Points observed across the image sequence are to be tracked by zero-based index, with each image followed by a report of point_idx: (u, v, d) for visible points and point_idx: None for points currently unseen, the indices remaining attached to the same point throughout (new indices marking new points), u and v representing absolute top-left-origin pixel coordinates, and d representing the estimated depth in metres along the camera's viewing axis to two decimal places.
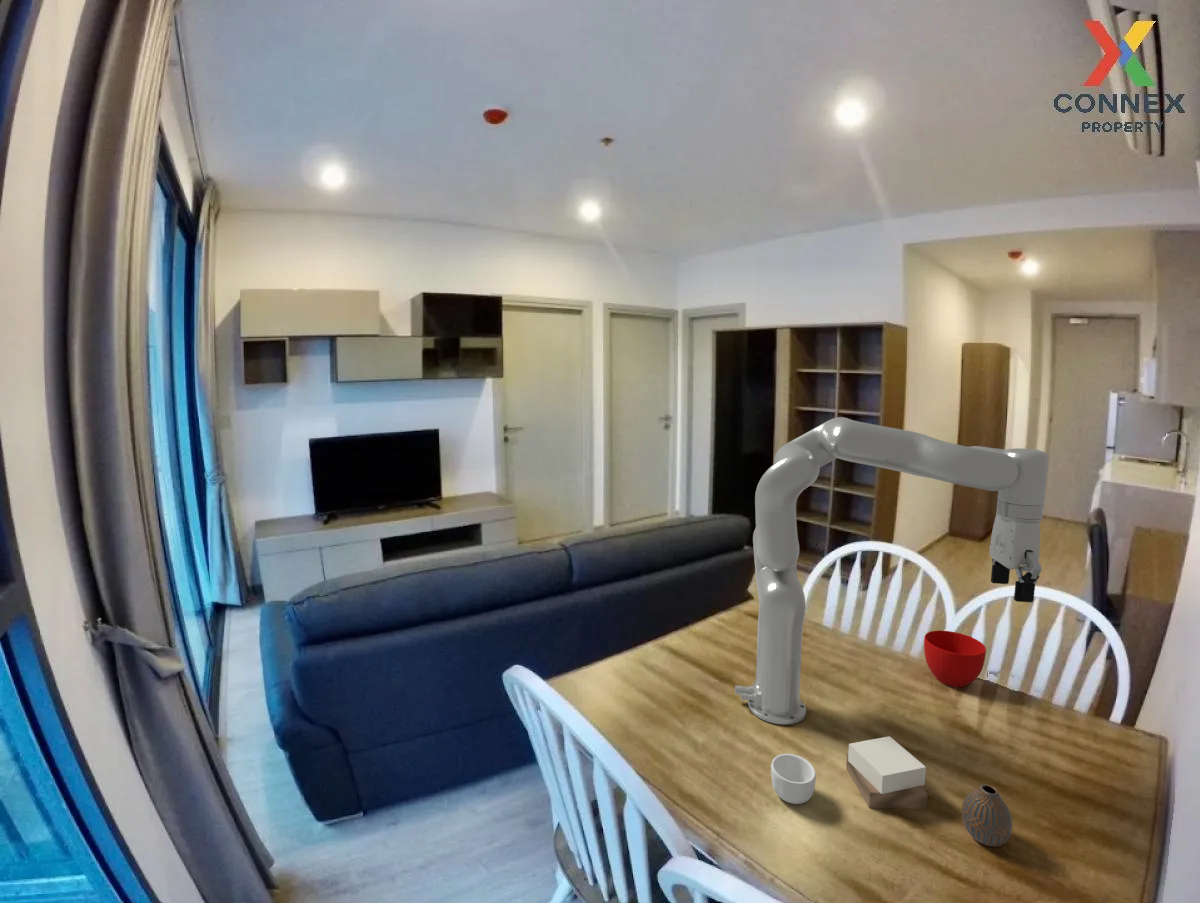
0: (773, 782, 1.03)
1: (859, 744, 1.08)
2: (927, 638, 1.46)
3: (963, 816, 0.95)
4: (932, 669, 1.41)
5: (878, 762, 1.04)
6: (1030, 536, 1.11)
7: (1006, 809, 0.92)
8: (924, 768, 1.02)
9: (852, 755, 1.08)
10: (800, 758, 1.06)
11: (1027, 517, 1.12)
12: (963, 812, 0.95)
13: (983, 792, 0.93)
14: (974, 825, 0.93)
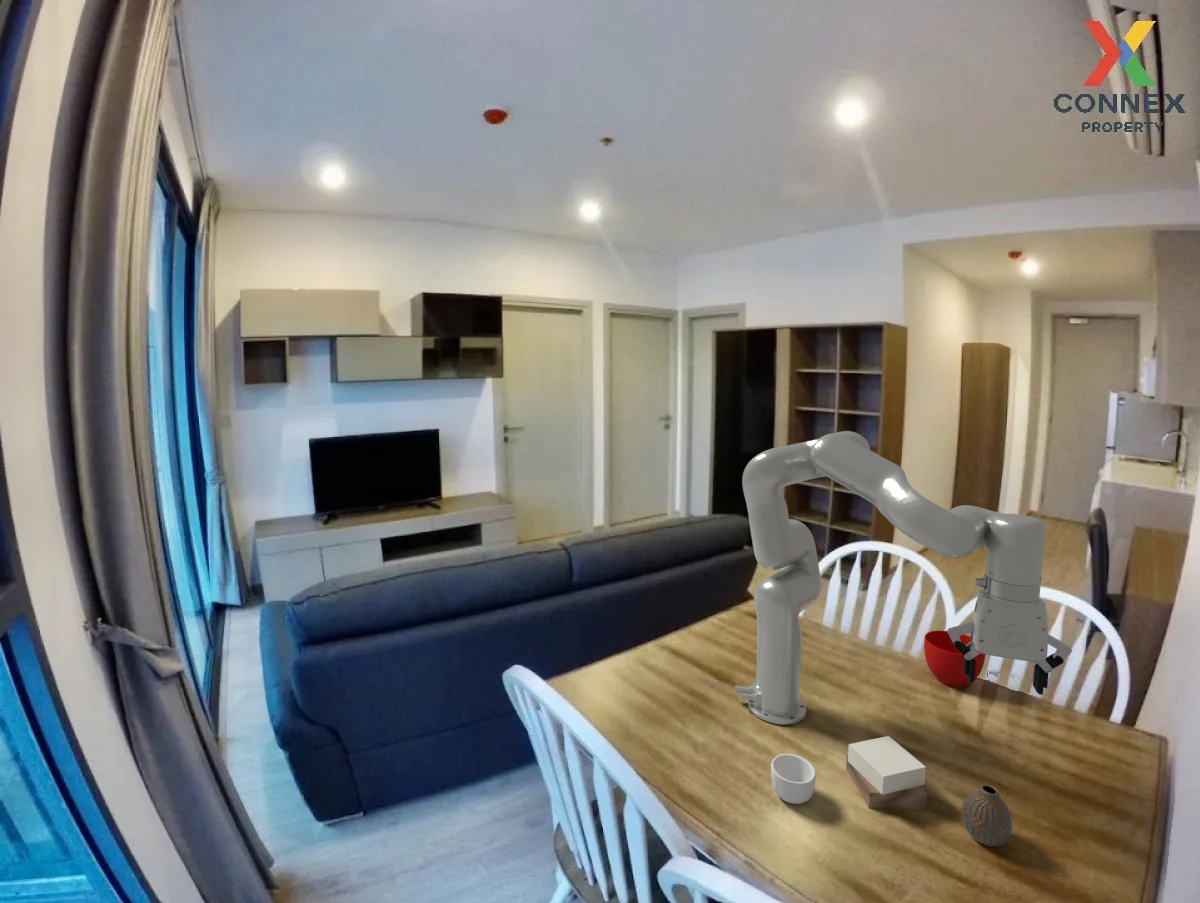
0: (773, 782, 1.03)
1: (859, 744, 1.08)
2: (927, 638, 1.46)
3: (963, 816, 0.95)
4: (932, 669, 1.41)
5: (878, 762, 1.03)
6: None
7: (1006, 809, 0.92)
8: (924, 768, 1.02)
9: (852, 755, 1.08)
10: (800, 758, 1.06)
11: None
12: (963, 812, 0.95)
13: (984, 792, 0.93)
14: (974, 825, 0.93)
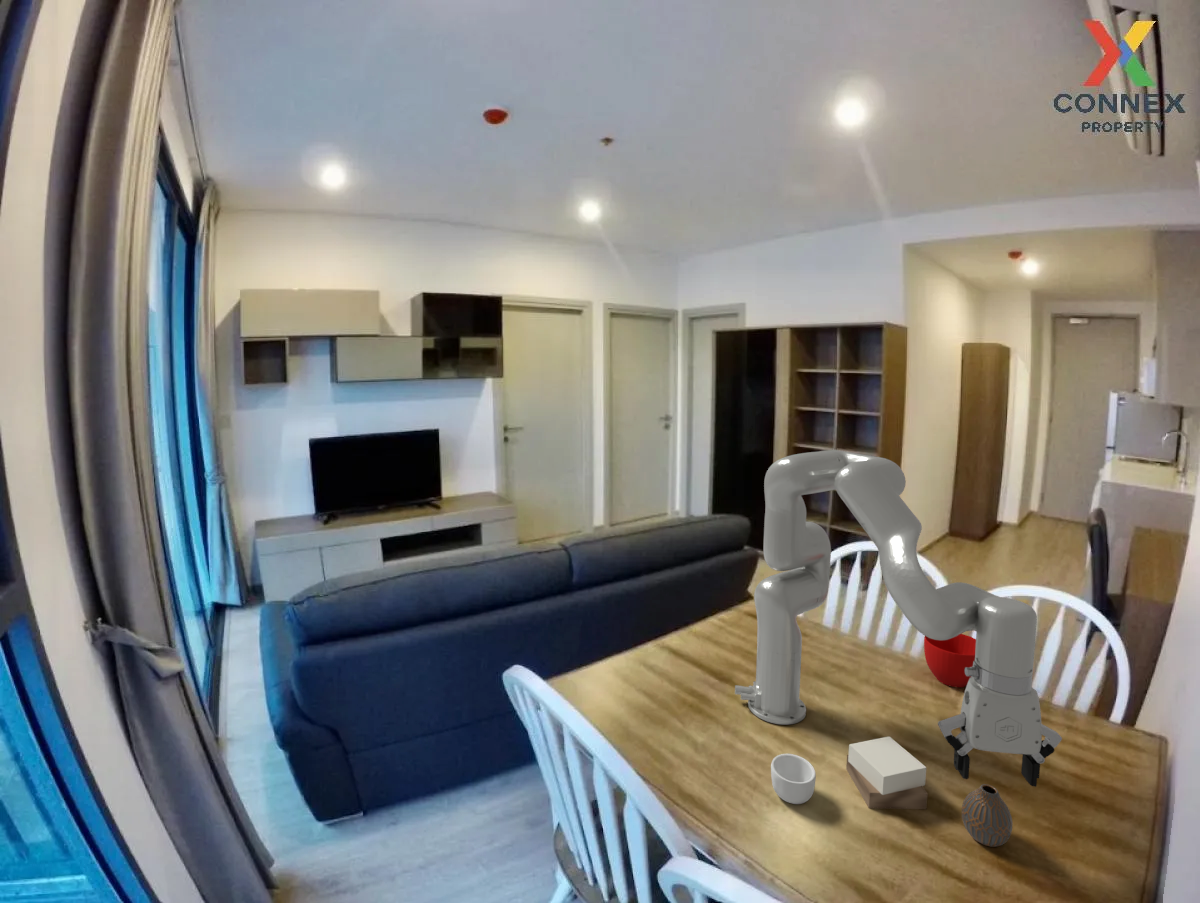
0: (773, 782, 1.03)
1: (859, 745, 1.08)
2: (927, 638, 1.46)
3: (963, 816, 0.95)
4: (932, 669, 1.41)
5: (879, 762, 1.03)
6: None
7: (1006, 809, 0.92)
8: (924, 768, 1.02)
9: (852, 755, 1.08)
10: (800, 758, 1.06)
11: None
12: (963, 812, 0.95)
13: (983, 792, 0.93)
14: (974, 825, 0.93)
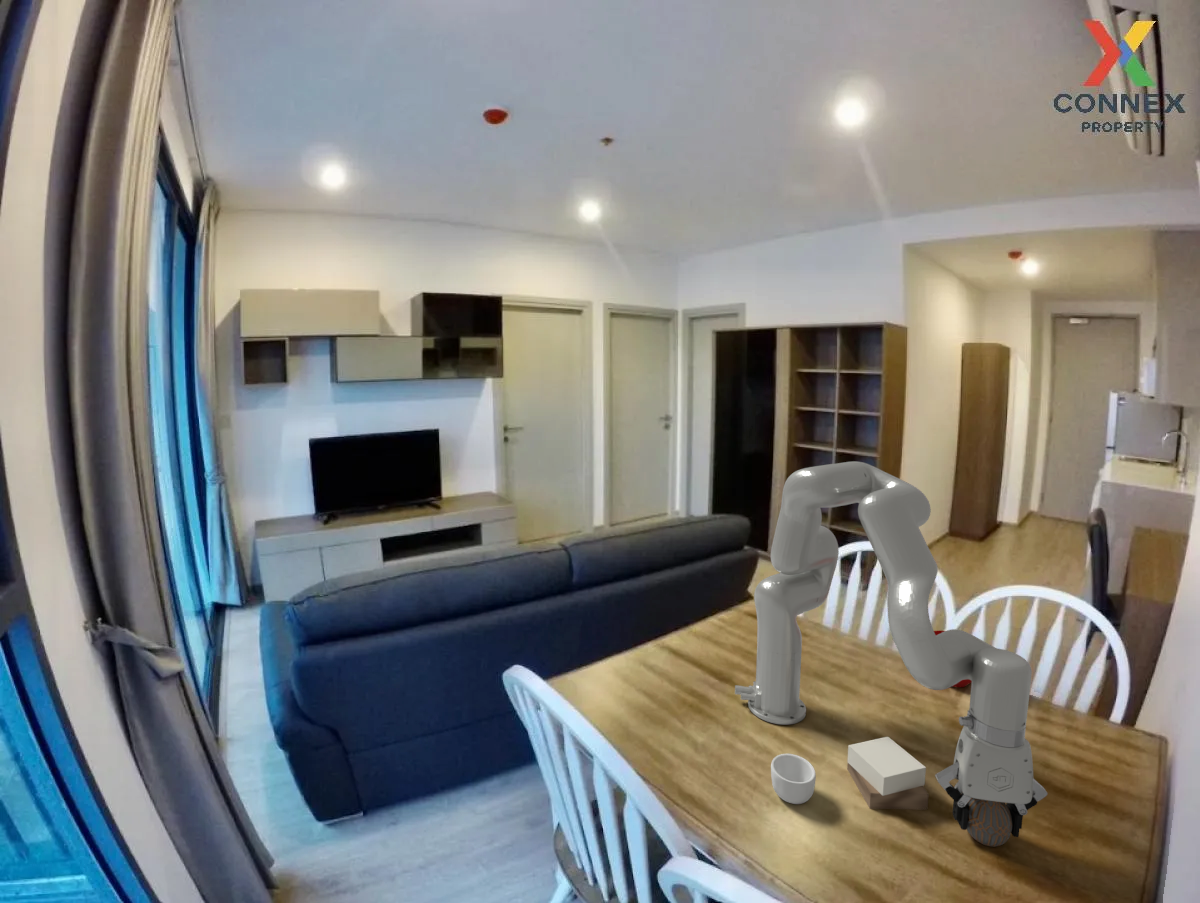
0: (773, 782, 1.03)
1: (858, 745, 1.08)
2: None
3: None
4: None
5: (878, 763, 1.03)
6: None
7: (1006, 809, 0.92)
8: (924, 768, 1.02)
9: (852, 756, 1.07)
10: (800, 758, 1.06)
11: None
12: None
13: None
14: (973, 825, 0.93)
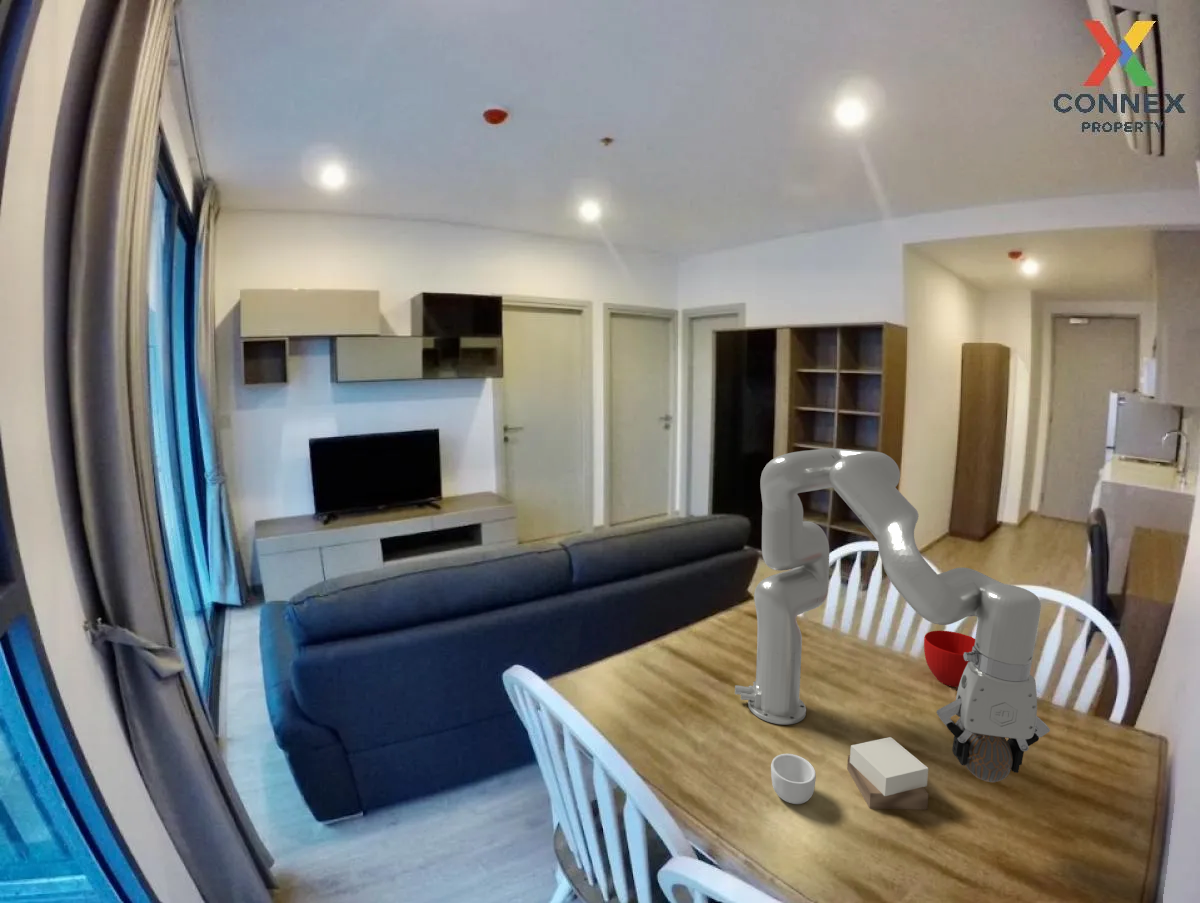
0: (773, 782, 1.03)
1: (861, 746, 1.08)
2: (927, 638, 1.46)
3: None
4: (932, 669, 1.41)
5: (881, 763, 1.03)
6: None
7: (1007, 745, 0.91)
8: (926, 769, 1.02)
9: (854, 756, 1.07)
10: (800, 758, 1.06)
11: None
12: None
13: None
14: (974, 760, 0.92)
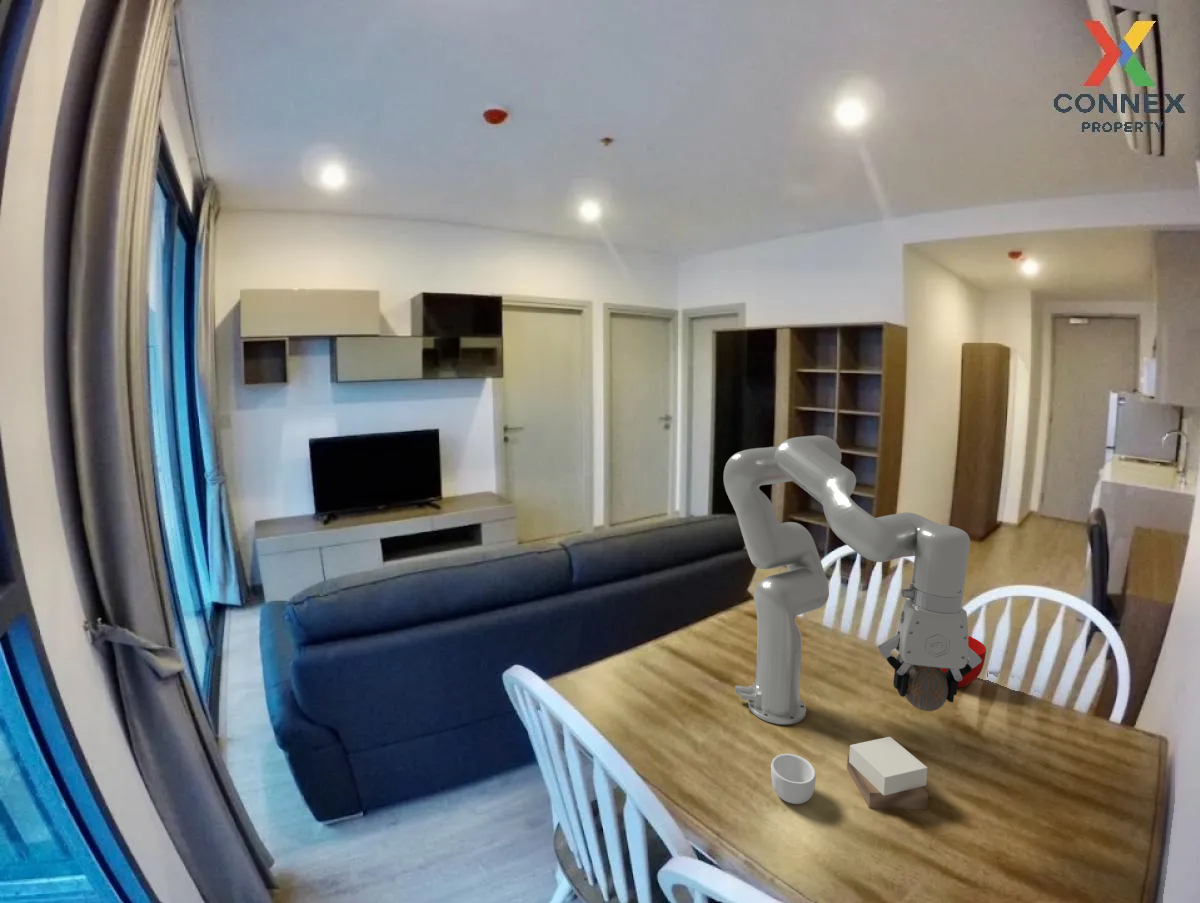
0: (773, 782, 1.03)
1: (860, 745, 1.08)
2: None
3: None
4: None
5: (880, 763, 1.03)
6: None
7: (943, 675, 0.97)
8: (925, 768, 1.02)
9: (853, 756, 1.07)
10: (800, 758, 1.06)
11: None
12: None
13: None
14: (912, 691, 0.98)
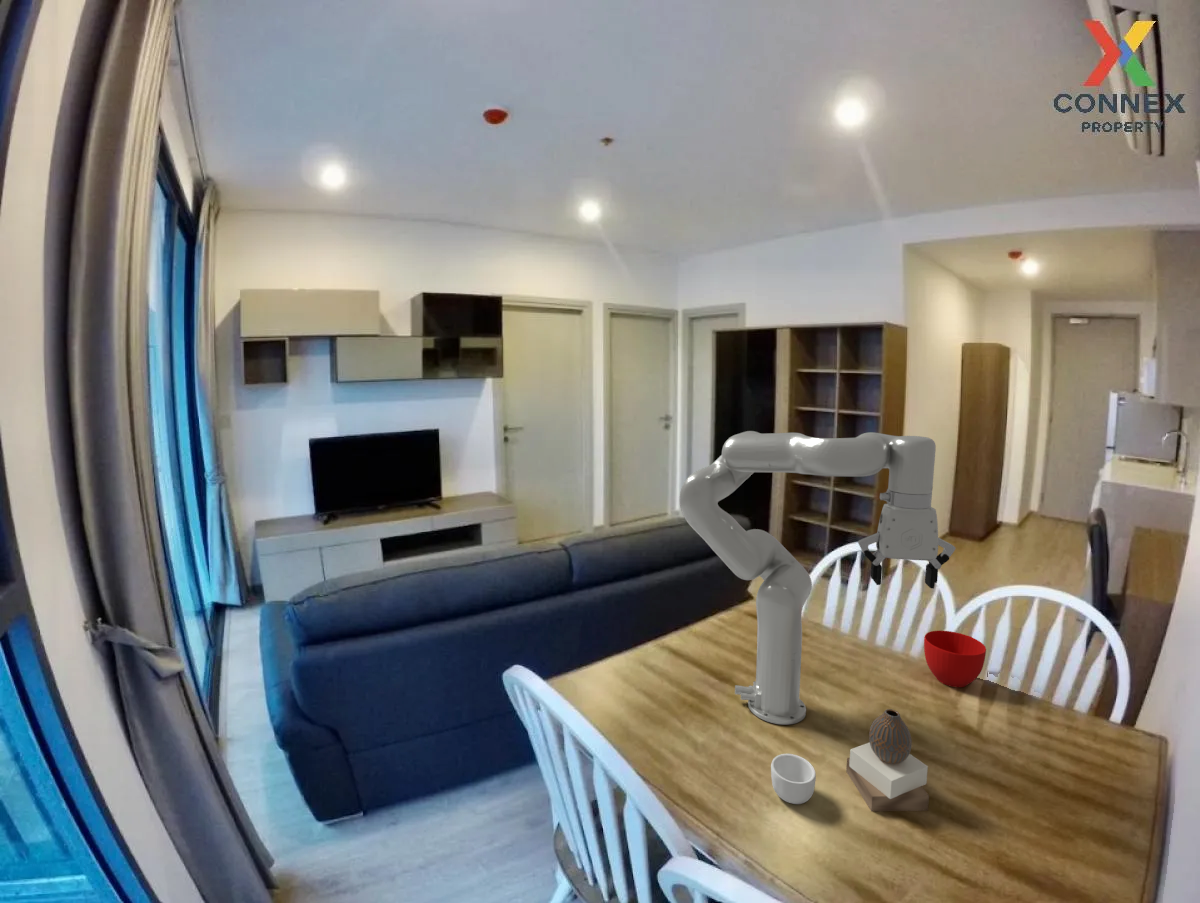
0: (773, 782, 1.03)
1: (860, 749, 1.07)
2: (927, 638, 1.46)
3: (869, 738, 1.05)
4: (932, 669, 1.41)
5: (883, 766, 1.03)
6: None
7: (906, 729, 1.02)
8: (926, 767, 1.03)
9: (854, 760, 1.07)
10: (800, 758, 1.06)
11: None
12: (870, 735, 1.05)
13: (887, 715, 1.03)
14: (878, 745, 1.03)
